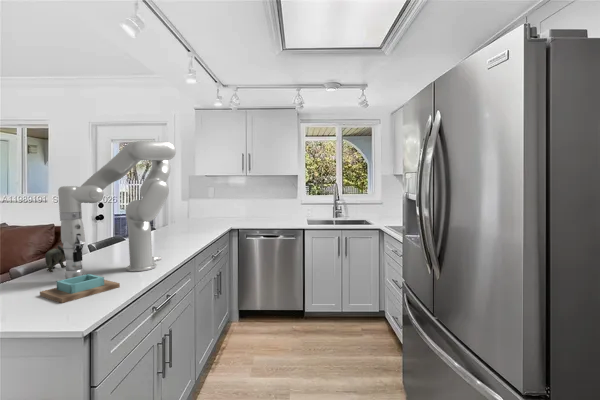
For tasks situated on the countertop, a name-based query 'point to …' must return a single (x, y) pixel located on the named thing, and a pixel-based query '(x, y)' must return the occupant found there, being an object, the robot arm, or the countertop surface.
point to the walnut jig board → (78, 288)
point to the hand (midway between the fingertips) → (73, 260)
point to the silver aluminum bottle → (71, 262)
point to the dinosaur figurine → (54, 258)
